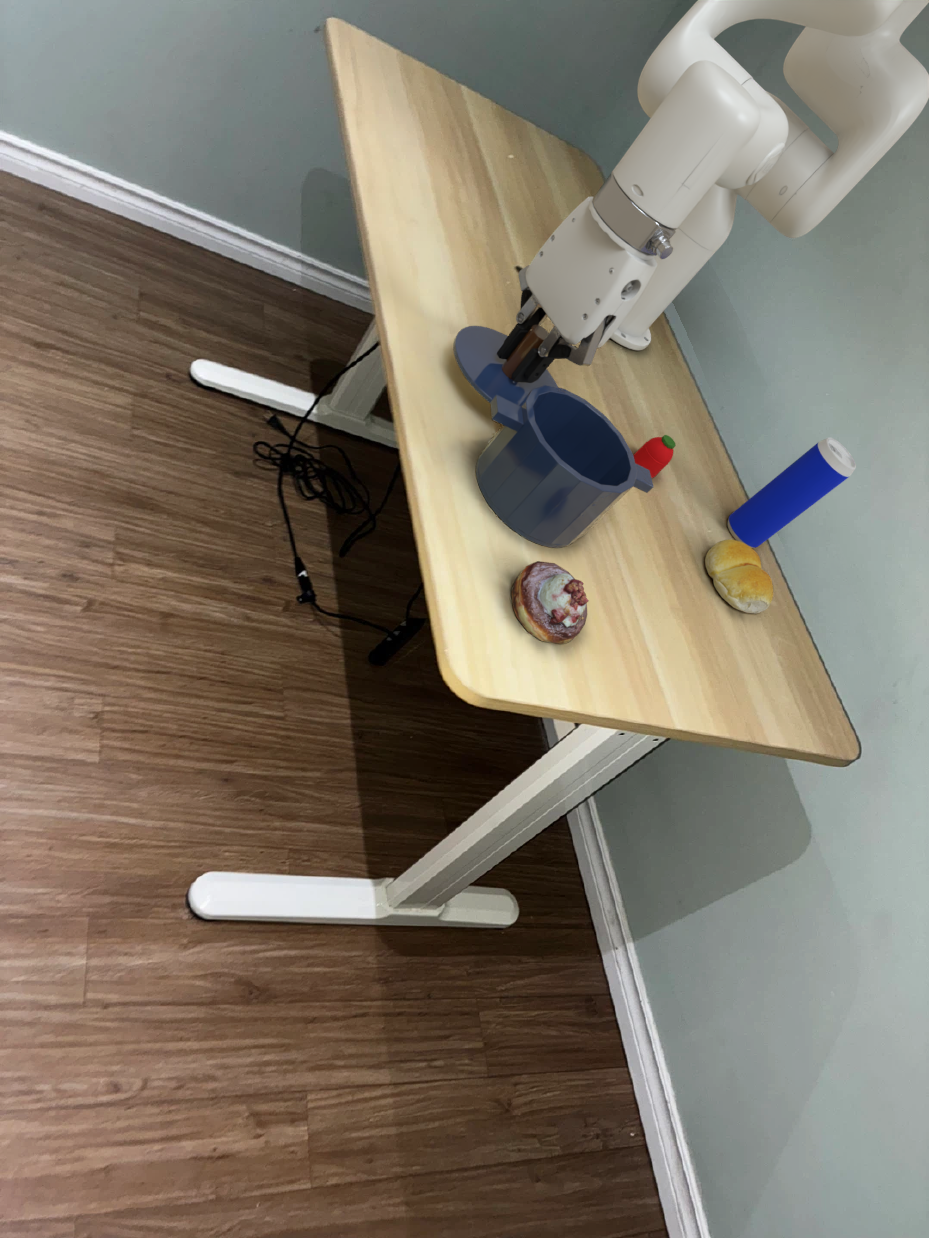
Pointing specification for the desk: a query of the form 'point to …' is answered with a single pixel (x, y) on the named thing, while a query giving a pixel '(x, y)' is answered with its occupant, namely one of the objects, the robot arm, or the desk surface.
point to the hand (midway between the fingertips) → (515, 367)
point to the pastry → (549, 602)
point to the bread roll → (739, 576)
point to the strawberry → (655, 454)
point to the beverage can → (791, 492)
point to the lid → (497, 362)
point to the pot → (555, 466)
